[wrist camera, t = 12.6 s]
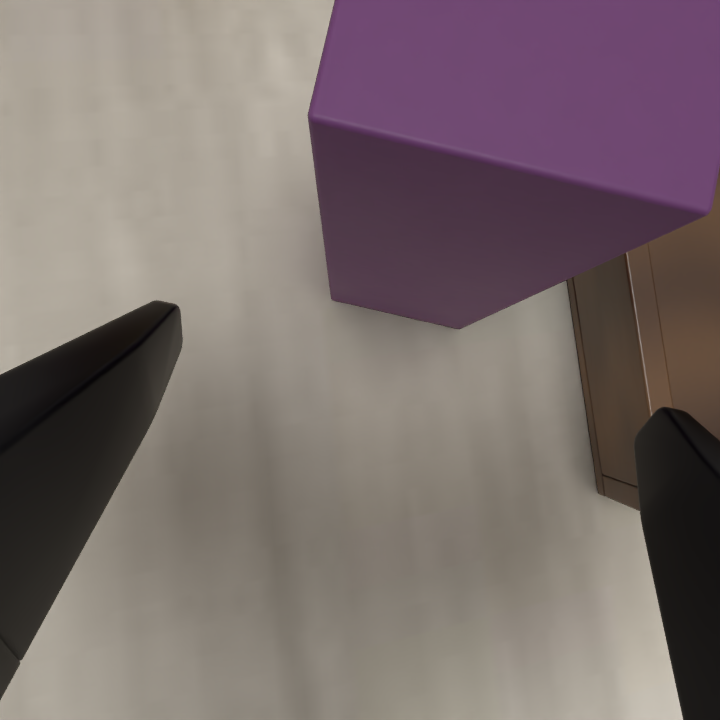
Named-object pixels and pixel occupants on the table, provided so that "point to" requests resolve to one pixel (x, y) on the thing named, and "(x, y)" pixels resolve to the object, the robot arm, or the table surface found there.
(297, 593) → the table surface
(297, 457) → the table surface
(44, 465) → the robot arm
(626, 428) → the wooden tray
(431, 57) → the block
